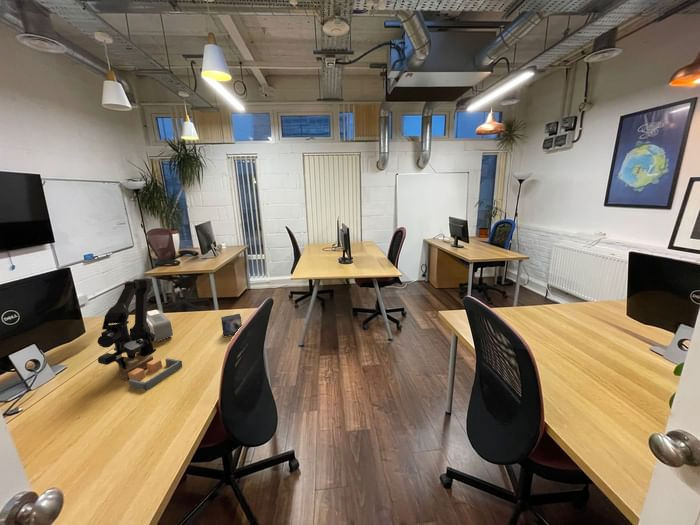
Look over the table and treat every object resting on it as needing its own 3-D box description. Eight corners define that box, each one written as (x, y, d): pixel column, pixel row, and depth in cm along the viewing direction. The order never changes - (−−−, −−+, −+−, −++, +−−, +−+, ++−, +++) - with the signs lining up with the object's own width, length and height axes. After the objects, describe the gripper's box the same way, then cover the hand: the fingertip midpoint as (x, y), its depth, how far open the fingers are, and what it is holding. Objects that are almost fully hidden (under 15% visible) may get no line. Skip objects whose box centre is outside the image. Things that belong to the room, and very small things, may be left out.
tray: (130, 386, 121) (128, 380, 120) (168, 363, 137) (167, 358, 137) (145, 390, 118) (144, 384, 117) (182, 366, 135) (181, 360, 134)
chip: (129, 381, 125) (128, 373, 124) (138, 375, 129) (137, 367, 128) (136, 382, 124) (134, 374, 123) (145, 377, 127) (143, 369, 126)
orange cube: (148, 370, 132) (146, 363, 131) (156, 366, 136) (154, 358, 135) (154, 372, 131) (152, 364, 130) (162, 367, 135) (161, 359, 134)
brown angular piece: (106, 376, 128) (103, 366, 127) (137, 359, 141) (135, 350, 140) (123, 380, 124) (121, 370, 123) (154, 363, 137) (152, 354, 136)
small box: (223, 337, 162) (221, 320, 160) (222, 333, 168) (220, 316, 165) (243, 333, 167) (241, 316, 164) (241, 329, 172) (239, 313, 170)
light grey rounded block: (144, 329, 176) (140, 311, 173) (161, 324, 182) (158, 307, 179) (154, 344, 157) (150, 324, 154) (173, 338, 163) (170, 319, 161)
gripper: (111, 349, 118) (118, 382, 122) (153, 329, 135) (159, 359, 139) (93, 345, 122) (101, 377, 125) (137, 327, 139) (143, 355, 142)
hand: (128, 367), depth 133 cm, fingers closed on brown angular piece, 3 cm apart
